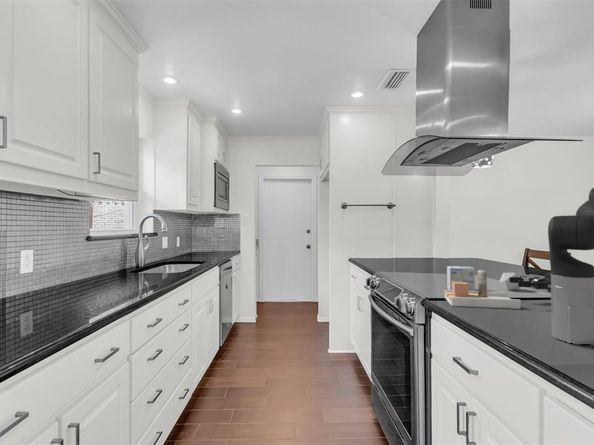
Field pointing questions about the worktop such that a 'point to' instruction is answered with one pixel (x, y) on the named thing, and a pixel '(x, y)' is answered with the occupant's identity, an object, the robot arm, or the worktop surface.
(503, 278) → the die
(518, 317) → the worktop surface
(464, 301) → the tray
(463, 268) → the light bulb box
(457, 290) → the block
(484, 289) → the plate with upright post
